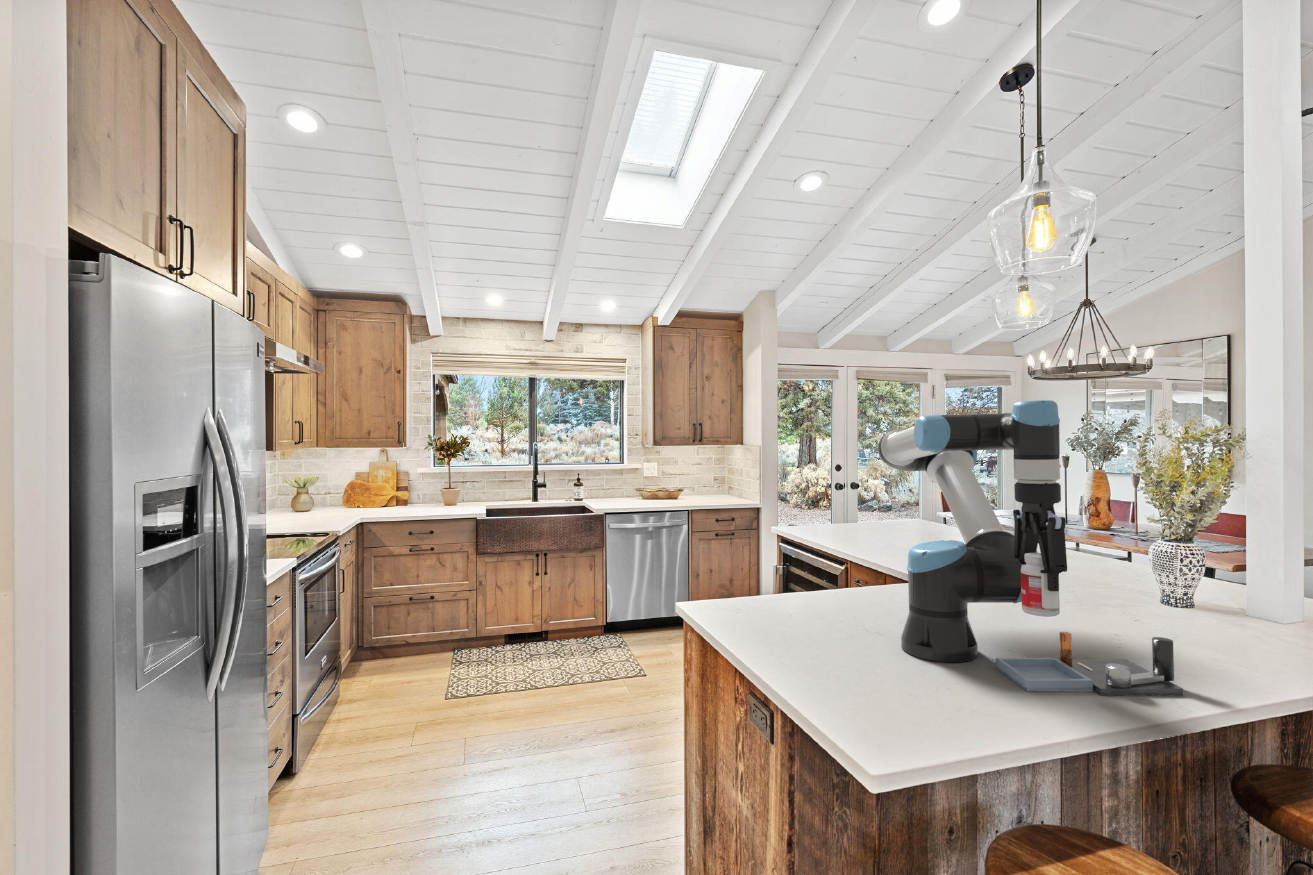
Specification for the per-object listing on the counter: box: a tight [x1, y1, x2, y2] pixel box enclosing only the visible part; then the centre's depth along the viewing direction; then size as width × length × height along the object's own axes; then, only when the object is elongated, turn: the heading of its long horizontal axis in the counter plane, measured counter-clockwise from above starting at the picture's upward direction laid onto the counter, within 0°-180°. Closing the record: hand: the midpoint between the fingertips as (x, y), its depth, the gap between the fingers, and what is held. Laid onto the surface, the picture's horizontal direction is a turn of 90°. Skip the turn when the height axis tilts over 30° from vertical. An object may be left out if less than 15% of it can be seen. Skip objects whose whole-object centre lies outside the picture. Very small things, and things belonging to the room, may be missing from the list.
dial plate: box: [1058, 631, 1184, 697], centre depth 117 cm, size 14×14×7 cm
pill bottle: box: [1021, 552, 1061, 617], centre depth 118 cm, size 6×6×11 cm
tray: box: [995, 657, 1094, 693], centre depth 118 cm, size 12×12×2 cm
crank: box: [1106, 636, 1175, 688], centre depth 112 cm, size 13×4×7 cm, turn 102°
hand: (1040, 602), depth 118 cm, fingers closed on pill bottle, 6 cm apart
